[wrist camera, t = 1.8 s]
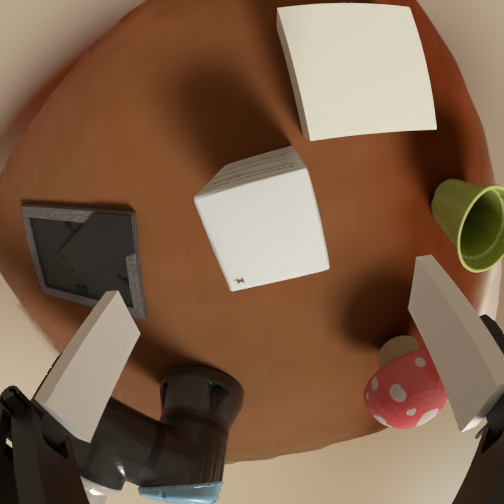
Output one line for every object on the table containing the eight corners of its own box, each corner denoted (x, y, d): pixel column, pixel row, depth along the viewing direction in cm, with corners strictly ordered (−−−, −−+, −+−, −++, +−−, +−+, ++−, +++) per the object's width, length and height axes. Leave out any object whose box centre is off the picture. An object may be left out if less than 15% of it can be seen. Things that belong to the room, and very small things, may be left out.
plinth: (302, 135, 26) (310, 141, 21) (276, 28, 21) (277, 7, 16) (408, 124, 24) (437, 129, 19) (386, 22, 19) (409, 7, 14)
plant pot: (462, 150, 24) (508, 168, 16) (482, 212, 27) (521, 241, 20) (407, 190, 27) (446, 219, 20) (434, 250, 30) (467, 288, 23)
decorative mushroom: (420, 359, 40) (446, 428, 27) (350, 374, 42) (364, 452, 29) (438, 301, 34) (482, 377, 21) (356, 316, 36) (382, 409, 23)
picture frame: (137, 210, 31) (26, 202, 32) (130, 216, 30) (18, 207, 30) (148, 312, 39) (47, 288, 39) (144, 321, 37) (41, 294, 38)
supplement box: (310, 210, 30) (332, 273, 18) (244, 226, 31) (227, 295, 20) (294, 143, 26) (310, 165, 15) (223, 162, 28) (189, 198, 17)
